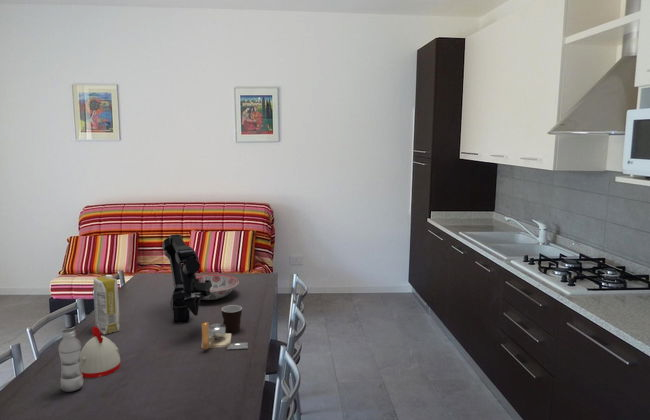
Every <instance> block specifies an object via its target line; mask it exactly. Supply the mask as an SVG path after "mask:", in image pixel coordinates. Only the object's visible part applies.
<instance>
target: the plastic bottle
mask: <svg viewBox="0 0 650 420" xmlns="http://www.w3.org/2000/svg"><path fill="white" fill-rule="evenodd" d="M76 336H77V333H76V329H75V328H65V329H63V330H62V331H61V337H62V339H61V341H60V342H59V344H58V347H57V349H58V353H59V354H58V355H59V358H60V365H61V373H60V374H61V376H60V382H59V385H60V389H61V390H62V391H63V392H66V393H71V392H74V391H77V390H79V389H81V388H82V386H83V385H84V377H83V375H82V372H81V365H80V354H81V351H82V343H81V341H80V340H79V338H77V337H76Z"/></svg>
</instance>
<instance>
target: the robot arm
mask: <svg viewBox="0 0 650 420" xmlns="http://www.w3.org/2000/svg"><path fill="white" fill-rule="evenodd" d="M161 245H162V247H161V249H162V251H163V252H164V255H165V257H166V258H167V259H168V260H169V263H170V269H171V270H170V271H171V274H172V275H171V276H172V281H173V288H174V289H173V292H172V294H171V299H170V302H169V305H170V309H171V310H172V311H173V320H172V323H173V324H182V323H185V324H187V323H189V321H190V319H191V313H192V314H193V316H194V317H195V316H198V313H199V307H200V302H201V301H202V298H203V297H206V296H210V295H211V293H210V288H211V287H212V283H211V280H205V282H200V281H199V279H196V276H197V275H196V274H197V273H198V272H199V271H200V268H201V264H200V262H199V256H198V254H197V253H196V251H195V250H194V249H193V247H192V246H190V245H189V246H188V245H187V244H186V243H185V241H184V240H183V238H182V234H178V233H177V234H171V235H169V236H168V237H167V238H166V239H163V241H162V244H161Z"/></svg>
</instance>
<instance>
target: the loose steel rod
mask: <svg viewBox="0 0 650 420" xmlns="http://www.w3.org/2000/svg"><path fill="white" fill-rule="evenodd" d="M248 349H249V343H248V342H234V343H233V342H231V343H227V347H226V351H230V350H232V351H233V350H248Z"/></svg>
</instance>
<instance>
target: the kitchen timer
mask: <svg viewBox="0 0 650 420" xmlns="http://www.w3.org/2000/svg"><path fill="white" fill-rule="evenodd" d="M91 332H92V338H91V337H90V339H89V340H88V341H87V342H86V343H85V344H84V345H83V347H82V348H81V354H80V365H81V372H82V375H83V378H86V379H87V378H89V379H93V378H100V377H101V378H102V377H105V376H108V375H111V374H113V373H115V372H116V371H117V369H118V370H119V369H120V368H121V366H122V365H121V356H120V351H119V347H117V345H116V343H115V342H113V341H112V340H111V339H109V338H108V337H106V336H104V335H102V333H101V332H100V329H98V327H97V328H96V325H94V326H93V328H91ZM120 365H121V366H120ZM119 367H120V368H119Z"/></svg>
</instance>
